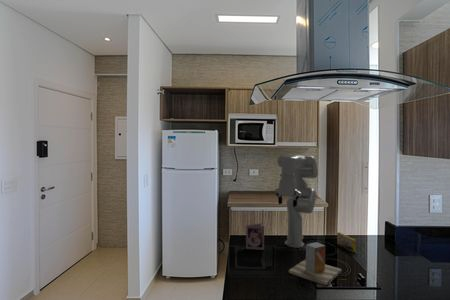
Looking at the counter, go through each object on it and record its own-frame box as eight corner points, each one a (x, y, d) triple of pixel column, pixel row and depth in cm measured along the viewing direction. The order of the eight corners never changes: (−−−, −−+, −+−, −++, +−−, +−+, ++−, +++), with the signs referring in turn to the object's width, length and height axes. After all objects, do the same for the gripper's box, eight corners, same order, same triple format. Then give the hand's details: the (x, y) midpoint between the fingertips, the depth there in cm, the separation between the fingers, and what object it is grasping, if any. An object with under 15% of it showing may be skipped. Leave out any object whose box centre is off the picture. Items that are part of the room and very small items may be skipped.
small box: (314, 273, 146) (315, 248, 146) (305, 268, 151) (305, 244, 151) (325, 270, 150) (325, 245, 150) (315, 265, 156) (316, 241, 155)
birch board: (305, 261, 165) (305, 258, 165) (341, 272, 152) (341, 269, 152) (288, 272, 150) (288, 270, 150) (326, 285, 136) (326, 282, 136)
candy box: (336, 244, 194) (337, 232, 194) (339, 244, 195) (339, 232, 195) (353, 253, 179) (353, 240, 179) (356, 253, 179) (356, 239, 179)
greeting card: (245, 249, 183) (246, 225, 182) (246, 245, 190) (246, 222, 190) (264, 250, 181) (264, 226, 181) (263, 246, 188) (264, 223, 188)
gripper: (272, 176, 176) (271, 204, 176) (298, 178, 164) (297, 208, 165) (278, 175, 181) (278, 202, 182) (304, 177, 170) (303, 206, 171)
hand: (287, 205), depth 173 cm, fingers open, 9 cm apart
